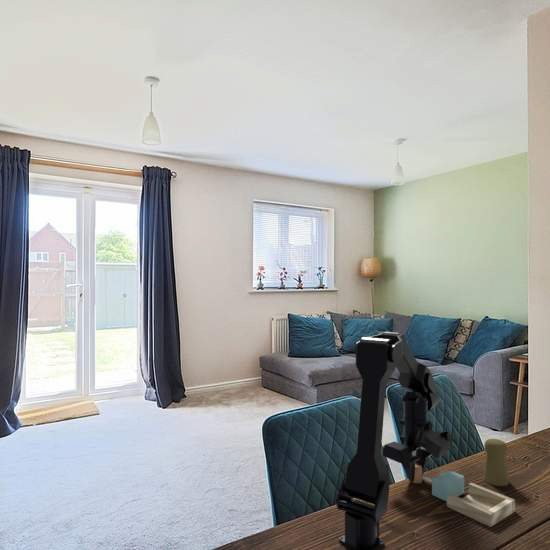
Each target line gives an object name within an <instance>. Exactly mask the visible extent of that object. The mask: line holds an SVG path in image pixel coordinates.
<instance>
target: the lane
mask: <svg viewBox="0 0 550 550" xmlns="http://www.w3.org/2000/svg"><path fill="white" fill-rule="evenodd" d="M446 507H447V508H449V509H451V510H453V511H455V512H458V513H460V514H462V515H464V516H466V517H469V518H471V519H472V520H475V521H477V522H479V523H481V524H484V525H485V526H488V527H491V528H492V527H493V526H494V525H496V524H498V523H499V522H501V521H503V520H504V519H506V518H507V517H508V516H510V515H512V514H514V513H515V512H516V499H514V498H511V497H510V496H506V495H504V494H501V493H499V492H496V491H494V490H492V489H489V488H486V487H483V486H481V485H478V484H476V483H474V482H470V483H468V494H467V495H465V496H464V497H462V498H461V497H460V496H458V497H457V496H454V495H452V494H448V495H447V501H446Z"/></svg>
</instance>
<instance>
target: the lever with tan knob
mask: <svg viewBox="0 0 550 550" xmlns="http://www.w3.org/2000/svg"><path fill="white" fill-rule="evenodd" d="M423 480H424V481H426V482H429V483H431V496H433V497H436V498H438V499H440V500H442V501H445V502H447V495H448V494H452V495H454V496H457V497H460V496H461V495H464V494H465V476H464V475H463V474H460V473H457V472H455V471H452V470H446V471H443V472H442V473H439V474H437V475H435V476H433V477H428V476H426V475H424V474H423V475H422V465H420V464H417V463H415V476H414V482H412V483H413V484H422V482H423Z"/></svg>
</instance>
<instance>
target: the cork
mask: <svg viewBox="0 0 550 550" xmlns="http://www.w3.org/2000/svg"><path fill="white" fill-rule="evenodd" d="M483 447H484V451H485V452H486V454H485V462H484V463H485V464H484V470H483V476H482V480H483V481H484V482H486V483H487V484H490V485H492V486H495V487H506V486H508V485H509V484H510V482H509V474H508V467H507V462H506V461H507V460H506V455H507V454H508V446H507V444H506V442H505V441H504V440H501V439H497V438H489V439H488V438H487V439H486V440H485V441H484V446H483Z"/></svg>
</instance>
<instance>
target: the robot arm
mask: <svg viewBox="0 0 550 550" xmlns="http://www.w3.org/2000/svg"><path fill="white" fill-rule="evenodd" d="M406 340H407V338H406V335H405V334H404V333H401V332H395V331H393V332H392V331H384V332H380V333H378V334H376V335H375V334H374V335H369V336H363V337H362V338H360V340H358V341H356V344H355V347H354V355H355V368H356V369H357V372H358V373H359V375H360V379H361V393H360V405H359V417H358V428H357V430H358V431H357V438H356V439H357V440H356V442H357V443H356V451H355V454H354V455H353V456H352V458H351V459H350V461H348V464H347V465H346V469H345V475H344V477H343V479H342V483H341V485H340V488H339V491H338V494H337V496H336V499H335V504H336V505H335V506H336V510H339V511H343V512H344V534H343V535H341V536H339V537H338V540H339V541H338V542H341V543H342V544H343V545H345V546H346V547H348V548H350V549H351V550H378V549H380V548H381V547H383V546H385V545H386V543H385V540H383V538H380V521H381V519H383V517H384V516H385V515H386V514H387V511H388V503H389V495H390V483H389V474H390V467H389V464H388V463H385V462H384V459H383V457H384V458H387V459H389V460H391V461H394V462H396V463H399V464H400V465H401V466H402V468H403V471H404V473H405V474H406V478H407V479H408V480H409V482H410V483H413V482H414V476H415V463H417V464H420V465H422V475H424V473H425V470H426V467H427V464H428V462H429V459H430V457H431V456H432V457H434V458H437V459H439V458H441V457H442V456H446V455H447V453H448V450H449V448H451V447H453V435H452V434H453V433H451V432H450V431H449V430H447V429H446V430H443V431H442V432H440V431H435V430H433V429H434V428H433V424H432V422H431V421H429V419H428V412H429V411H431V410H432V409H434V408H435V407H436V406H437V405H438V404H439V402H440V394H439V392H438V391H437V386H436V382H435V380H434V375H433V374H432V373H431V372H432V371H431V370H430V369H429V367H428V366H426V365H425V364H423V363H421V362H419V361H418V360H417V359H416V357H415V355H414V353H413V351H412V350H411V348H410V347H409V345H408V343H407V341H406ZM396 369H397V371H398V374H397V381H398V383H399V385H400V387H401V388H402V389H404V390H407V391H406V393H405V394H404V395H403V396H402V398H401V401H402V403H403V418H402V419H400V420H399V424H400V425H402V426H403V435H400V436H399V440H400V441H401V442H404V444H402V443H400V442H397V441H391V442H389V443H386V444H384V445H383V446H382V443H383V428H384V416H385V405H386V404H385V402H386V389H387V382H388V381H389V379H390V378H391V377H392V375H393V374H394V372H395V371H396ZM408 390H409V391H408ZM382 456H383V457H382Z"/></svg>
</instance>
